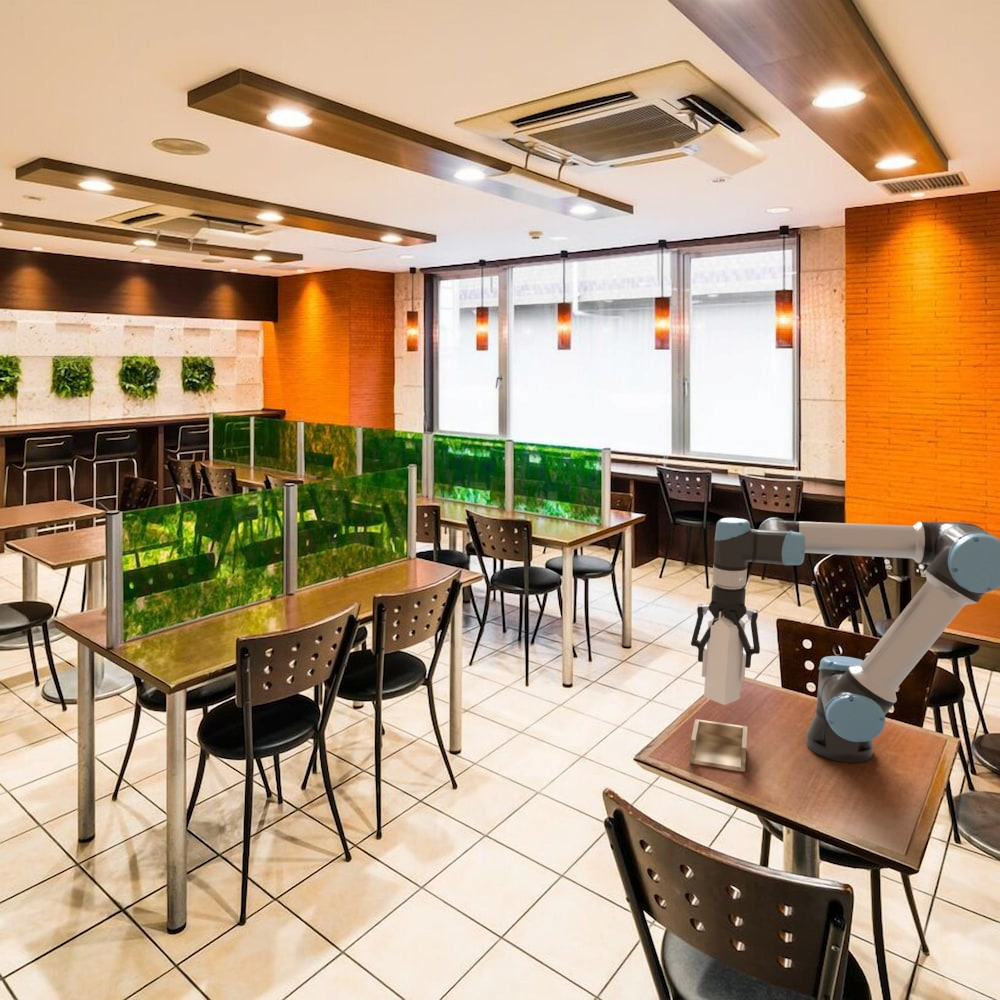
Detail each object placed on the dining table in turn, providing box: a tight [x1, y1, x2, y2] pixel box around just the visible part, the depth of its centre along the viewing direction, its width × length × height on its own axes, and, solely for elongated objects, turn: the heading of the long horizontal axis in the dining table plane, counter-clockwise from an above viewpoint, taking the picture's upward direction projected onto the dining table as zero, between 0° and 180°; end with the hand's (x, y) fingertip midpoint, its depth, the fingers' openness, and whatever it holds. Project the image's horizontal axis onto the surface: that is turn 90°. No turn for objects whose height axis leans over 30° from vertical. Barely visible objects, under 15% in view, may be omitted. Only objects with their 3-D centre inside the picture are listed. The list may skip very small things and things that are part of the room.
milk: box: [703, 611, 746, 706], centre depth 183 cm, size 6×6×22 cm
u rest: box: [689, 718, 748, 773], centre depth 187 cm, size 12×12×6 cm
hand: (723, 677), depth 184 cm, fingers closed on milk, 8 cm apart
